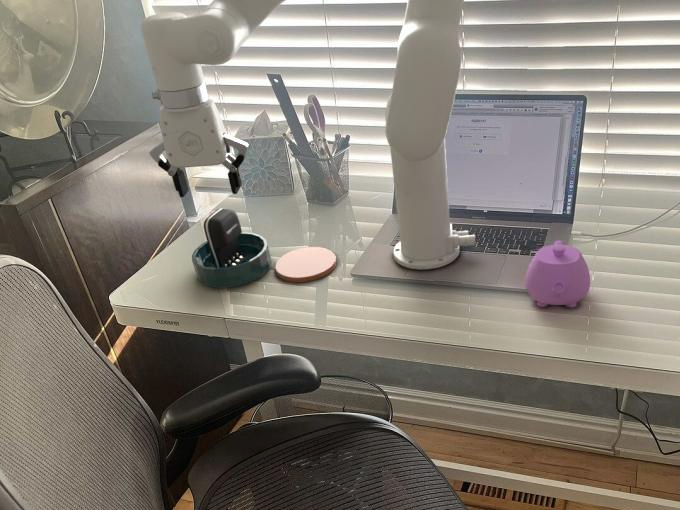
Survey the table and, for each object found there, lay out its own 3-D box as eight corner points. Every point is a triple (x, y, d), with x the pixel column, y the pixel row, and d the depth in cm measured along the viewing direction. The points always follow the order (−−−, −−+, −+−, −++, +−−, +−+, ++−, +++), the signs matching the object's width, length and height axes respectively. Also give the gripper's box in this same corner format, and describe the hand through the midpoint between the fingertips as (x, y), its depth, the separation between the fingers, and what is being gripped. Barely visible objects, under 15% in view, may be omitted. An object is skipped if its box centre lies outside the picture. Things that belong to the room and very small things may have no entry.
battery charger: (233, 278, 129) (218, 223, 122) (216, 276, 130) (200, 221, 124) (252, 259, 134) (238, 206, 127) (235, 257, 135) (221, 204, 129)
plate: (339, 249, 135) (339, 244, 135) (332, 280, 126) (331, 275, 125) (282, 253, 136) (281, 248, 136) (270, 284, 127) (269, 279, 127)
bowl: (278, 250, 138) (273, 230, 135) (263, 288, 126) (258, 266, 124) (209, 254, 139) (203, 234, 136) (189, 292, 128) (182, 271, 125)
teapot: (588, 276, 119) (591, 227, 113) (590, 326, 107) (594, 274, 101) (526, 275, 121) (527, 227, 115) (522, 324, 109) (523, 273, 104)
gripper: (125, 107, 111) (157, 204, 121) (229, 99, 109) (252, 198, 119) (142, 92, 117) (170, 186, 127) (241, 85, 115) (262, 181, 125)
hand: (210, 192), depth 123 cm, fingers open, 9 cm apart
